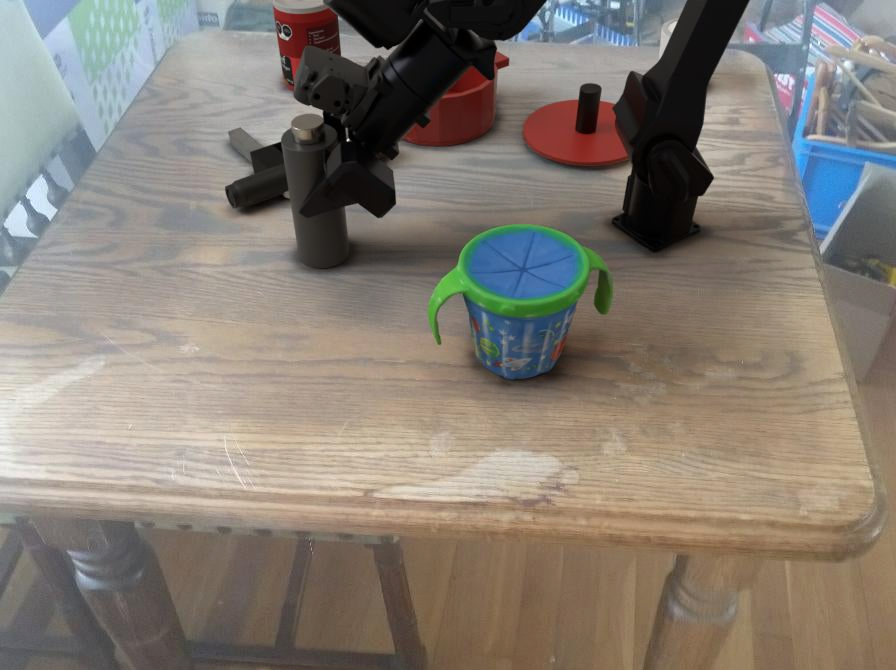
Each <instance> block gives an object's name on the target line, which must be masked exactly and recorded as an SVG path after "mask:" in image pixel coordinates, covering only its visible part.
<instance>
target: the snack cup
mask: <svg viewBox="0 0 896 670" xmlns="http://www.w3.org/2000/svg"><path fill="white" fill-rule="evenodd" d="M594 270H598V279H597V287H596V289H595V292H594V296H593V305H594V308H595V310H597V312H598V313H599V314H600V315H602V316H605V315H607V314H608V313H609V312H610V309H611V306H612V302H613V297H614V282H613V277H612V274H611V272H610V270H609V268H608V265H606V263H605V262H604V260H603V259H602V258H601V257H600V255H598V254H597V253H596V252H595V251H594V250H592V249H591V248H587V247H585V246H582V245H581V243H580V242H578V241H577V240H576V239H574V238H573V237H571V235H568V234H566V233H565V232H562V231H560V230H557V229H555V228H551V227H547V226H543V225H537V224H530V223H529V224H528V223H514V224H505V225H501V226H498V227H494V228H493V227H492V228H491V229H488V230H485V231H483V232H481V233H479V234H478V235H476V236H474V237H473V238H472V239H471V240H469V241H468V242H467V244H465V246H464V247H463V248H462V250H461V252H460V254H459V257H458V263H457V265H456V266H455V267H454V268H453V269H452V270H451V271H449V272H448V273H446V274H445V276H442V278H441V280H440V282H439V283H438V284H437V285H436V287H435V288H434V290H433V292H432V295H431V297H430V299H429V303H428V308H427V320H428V323H429V327H430V329H431V332H432V335H433V338H434V340H435V342H436V344H437V345H438V346H441V345H442V341H441V340H442V339H441V335H440V330H439V329H440V328H439V321H438V313H439V310H440V308H441V307H442V306H443V305H444V304H445V303H446V302H447V301H449V299H450V298H451V297H453V296H455V295H458V294H459V295H460V294H461V295H462V297H463V300H464V303H465V307H466V310H467V312H468V322H469V327H470V333H471V339H472V344H473V350H474V353H475V356H476V359H477V361H478V362H480V363H481V364H482V365H483V367H485V368H486V369H487V370H489V371H490V372H491V373H493V374H496V375H498V376H501V377H503V378H504V379H506V380H512V381H513V380H515V379H525V380H526V379H529V378H533V377H536V376H538V375H540V374H546V373H548V372H549V371H551V370H552V369H553V368H554V366H555V364H556V363H557V361H559V359H560V356H561V354H562V352H563V349H564V346H565V343H566V341H567V337H568V333H569V331H570V330H569V329H570V327H571V324H572V322H573V318H574V314H575V313H576V310H577V304H578V301H579V300H580V298H581V297H582V296H583V294H584V292H585V290H586V288H587V287H588V283H589V278H590V273H591V272H592V271H594Z"/></svg>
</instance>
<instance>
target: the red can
mask: <svg viewBox="0 0 896 670" xmlns="http://www.w3.org/2000/svg"><path fill="white" fill-rule="evenodd" d="M272 9H273V16H274V23H275V24H274V25H275V31H276V38H277V45H278V52H279V58H280V59H279V60H280V66H281V70H282V79H283V81H284V83H285V85H286V87H287V88H288V89H289V90H290V91H293V92H294V78H295V75H296V72H297V69H298V66H299V63H300V60H301V57H302V54H303V51H304V48H305V46H314V47H317V48H320V49H323V50H325V51H328V52H331V53H334V54H336V55H339V56H342V48H341V47H342V46H341V36H340V24H339V23H340V22H339V16H338V15H336V14H335V13H334V12H333V11H332V10H331V9H329V8H328V7H327V6H326V5H325V4H324V3H323V0H272Z"/></svg>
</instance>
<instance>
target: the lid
mask: <svg viewBox="0 0 896 670" xmlns="http://www.w3.org/2000/svg"><path fill="white" fill-rule="evenodd" d="M602 91H603V89H602V86H601V85H599V84H597V83H595V82H594V83H593V82H587V83H584V84H581V85H580V87H579V93H578V99H567V100H566V99H565V100H561V101H560V100H559V101H556V102H552V103H549V104H546V105H544V106H541V107H539V108H537V109H536V110H534V111H532V112H531V113H530V114H529V115H528V116H527V117H526V119H525V120H524V123H523V126H522V137H523V140H524V141H525V143H526V145H527V146H528V147H529V148H530V149H532V150H533V151H534V152H535V153H537V154H538V155H540V156H542V157H544V158H547V159H549V160H551V161H555V162H558V163H561V164H567V165H570V166H571V165H573V166H580V167H581V166H582V167H583V166H584V167H598V166H606V165H607V166H608V165H613V164H617V163H621V162H625V161H627V160H630V159H629V157H628V155H627V153H626V151H625V149H624V146H623V144H622V142H621V140H620V138H619V136H618V134H617V132H616V128H615V119H616V115H615V113H614V111H613V109H612V107H613V106H614V105H615V104H616V103H613V102H610V101H605V100H601V96H602Z"/></svg>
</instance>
